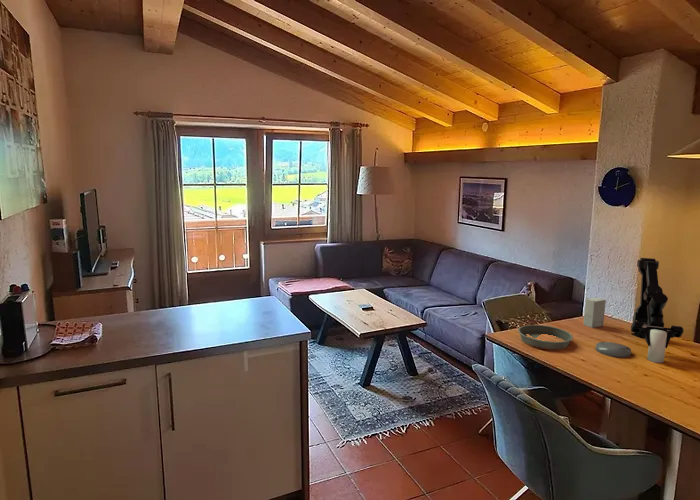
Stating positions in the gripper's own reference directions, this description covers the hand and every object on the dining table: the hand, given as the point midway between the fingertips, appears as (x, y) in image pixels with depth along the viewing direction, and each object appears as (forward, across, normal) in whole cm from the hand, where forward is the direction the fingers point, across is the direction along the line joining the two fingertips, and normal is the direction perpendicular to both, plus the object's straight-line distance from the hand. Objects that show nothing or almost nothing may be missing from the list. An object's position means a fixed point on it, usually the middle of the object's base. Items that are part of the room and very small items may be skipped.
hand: (657, 346), depth 198 cm
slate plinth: (+1, +16, -8) cm, 18 cm away
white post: (+4, 0, -6) cm, 7 cm away
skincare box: (-26, +21, -35) cm, 48 cm away
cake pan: (0, +45, -10) cm, 46 cm away
